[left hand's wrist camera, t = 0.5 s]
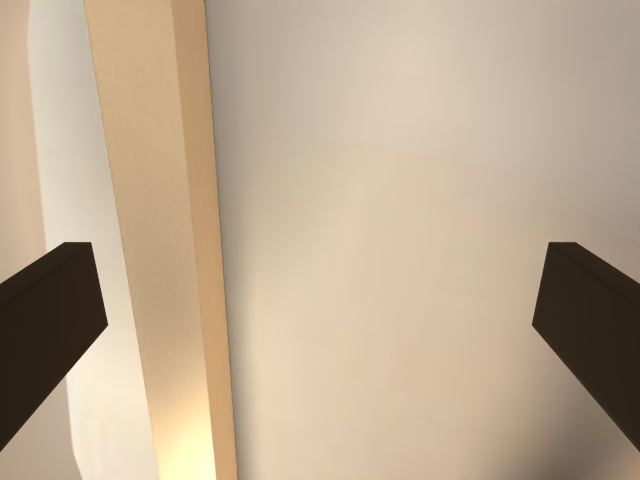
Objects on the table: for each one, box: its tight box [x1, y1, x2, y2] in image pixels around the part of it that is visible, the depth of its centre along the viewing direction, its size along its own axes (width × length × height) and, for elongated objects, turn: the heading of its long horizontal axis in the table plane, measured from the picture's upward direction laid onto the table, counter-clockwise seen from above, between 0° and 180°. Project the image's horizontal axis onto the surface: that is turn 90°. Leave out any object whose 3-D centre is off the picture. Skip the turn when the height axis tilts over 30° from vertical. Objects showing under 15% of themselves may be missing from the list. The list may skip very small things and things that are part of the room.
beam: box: [84, 0, 238, 480], centre depth 37 cm, size 62×5×8 cm, turn 179°
